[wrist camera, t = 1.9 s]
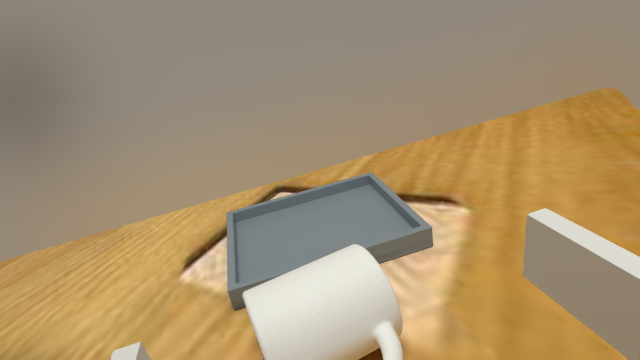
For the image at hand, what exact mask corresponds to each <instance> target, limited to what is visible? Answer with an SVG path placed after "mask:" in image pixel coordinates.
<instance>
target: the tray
mask: <svg viewBox="0 0 640 360" xmlns="http://www.w3.org/2000/svg"><path fill="white" fill-rule="evenodd" d="M353 244H357V245H360V246H362V247H364V248H365V249H366V250H367V251H368V252H369V253H370V254H371V255H372V256H373V257H374V258H375V260H376V261H377V262H378V264H380V263H383V262H386V261H389V260H392V259H395V258H398V257H402V256H405V255H408V254H411V253H414V252H417V251H420V250H423V249H426V248H429V247H432V246H433V239H432V227H431V226H430V225H429V224H428V223H427V222H425V221H424V220H423V219H422V218H421V217H420V216H419V215H418V214H417V213H416V212H415V211H413V210H412V209H411V208H410V207H409V206H408V205H407V204H406V203H405V202H404V201H403V200H402V199H400V198H399V197H398V196H397V195H396V194H395V193H394V192H393V191H392V190H391V189H390V188H388V187H387V186H386V185H385V184H384V183H383V182H382V181H381V180H380V179H379V178H378V177H377V176H375V175H374V174H373V173H372V172H370V173H367V174H363V175H359V176H356V177H352V178H349V179H345V180H341V181H338V182H334V183H331V184H327V185H324V186H320V187H316V188H313V189H309V190H306V191H302V192H299V193H295V194H291V195H288V196H284V197H281V198H277V199H273V200H270V201H266V202H263V203H259V204H256V205H252V206H248V207H245V208H241V209H238V210H234V211H230V212H227V269H228V294H229V296H230V299H231V302H232V304H233V307H234V309H235V310H238V309H241V308H244V307H246V306H245V303H244V300H243V296H242V294H243V292H244V291H246V290H249V289H251V288H253V287H256V286H258V285H260V284H262V283H265V282H267V281H269V280H272V279H274V278H276V277H279V276H281V275H283V274H286V273H288V272H290V271H292V270H295V269H297V268H299V267H302V266H304V265H306V264H309V263H311V262H313V261H316V260H318V259H320V258H323V257H325V256H327V255H329V254H332V253H334V252H336V251H339V250H341V249H343V248H346V247H348V246H350V245H353Z"/></svg>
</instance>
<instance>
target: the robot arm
mask: <svg viewBox="0 0 640 360" xmlns="http://www.w3.org/2000/svg"><path fill="white" fill-rule="evenodd" d="M523 276H524V277H525V278H526V279H528V280H529V281H530V282H531V283H533V284H534V285H535V286H536V287H538V288H539V289H540V290H542V291H543V292H544V293H545V294H547V295H548V296H549V297H550V298H552V299H553V300H554V301H555V302H557V303H558V304H559V305H561V306H562V307H563V308H564V309H566V310H567V311H568V312H569V313H571V314H572V315H573V316H574V317H576V318H577V319H578V320H579V321H581V322H582V323H583V324H585V325H586V326H587V327H588V328H590V329H591V330H592V331H593V332H595V333H596V334H597V335H598V336H600V337H601V338H602V339H604V340H605V341H606V342H607V343H609V344H610V345H611V346H612V347H614V348H615V349H616V350H617V351H619V352H620V353H621V354H623V355H624V356H625V357H626V358H628V359H629V360H640V257H638V256H636V255H634V254H633V253H631V252H629V251H627V250H625V249H623V248H621V247H619V246H617V245H615V244H613V243H611V242H610V241H608V240H606V239H604V238H602V237H600V236H598V235H596V234H594V233H592V232H590V231H588V230H587V229H585V228H583V227H581V226H579V225H577V224H575V223H573V222H571V221H569V220H567V219H565V218H564V217H562V216H560V215H558V214H556V213H554V212H552V211H550V210H548V209H546V208H545V209H542V210H539V211H536V212H533V213H530V214H527V222H526V237H525V253H524V268H523ZM110 360H151V359H150V357H149V355H148V354H147V352H146V350H145V348H144V346H143V345H142V343H141V342H139V343H136V344H133V345H130V346H127V347H124V348H121V349H117V350H114V351H113V354H112V357H111V359H110Z"/></svg>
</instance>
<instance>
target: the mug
mask: <svg viewBox="0 0 640 360" xmlns="http://www.w3.org/2000/svg"><path fill="white" fill-rule="evenodd" d="M242 296H243V300H244V303H245V306H246V309H247V311H248V314H249V317H250V320H251V323H252V326H253V329H254V332H255V334H256V337H257V340H258V343H259V346H260V349H261V352H262V354H263V357H264V360H358V359H360V358H362V357H364V356H366V355H367V354H369V353H371V352H373V351H375V350H376V349H378V348H380V349H381V352H382V355H383V360H403V350H402V346H401V343H400V340H399V336H400V335H401V332H402V316H401V311H400V307H399V304H398V301H397V298H396V295H395V293H394V291H393V288H392V286H391V284H390V282H389V280H388V278H387V276H386V275H385V273H384V271H383V270H382V268H381V266H380V265H379V264H378V262H377V261H376V260H375V258H374V257H373V256H372V255H371V254H370V253H369V252H368V251H367V250H366V249H365V248H364V247H362V246H360V245H357V244H353V245H350V246H348V247H346V248H343V249H341V250H339V251H336V252H334V253H332V254H329V255H327V256H325V257H323V258H320V259H318V260H316V261H313V262H311V263H309V264H306V265H304V266H302V267H299V268H297V269H295V270H292V271H290V272H288V273H286V274H283V275H281V276H279V277H276V278H274V279H272V280H269V281H267V282H265V283H262V284H260V285H258V286H256V287H253V288H251V289H249V290H246V291H244V292H243V294H242Z"/></svg>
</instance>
